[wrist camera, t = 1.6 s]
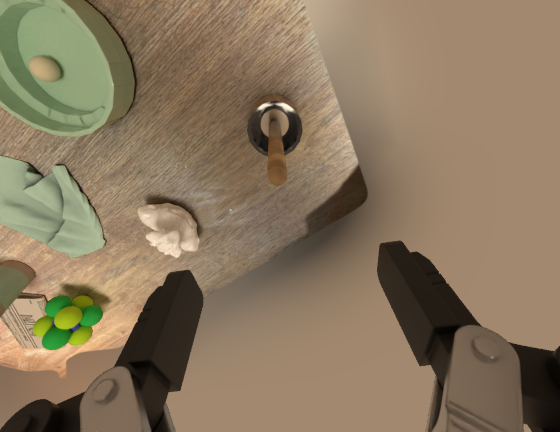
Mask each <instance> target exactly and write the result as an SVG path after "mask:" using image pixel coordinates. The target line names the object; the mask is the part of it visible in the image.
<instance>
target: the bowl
mask: <svg viewBox="0 0 560 432" xmlns="http://www.w3.org/2000/svg"><path fill="white" fill-rule="evenodd" d="M34 56H44V57H47V58H49V59H51V60H52V61H54V62H55V63H56V64H57V66H58V67H59V69H60V78H59V79H58V80H57V81H55V82H45V81H42V80H40V79H38V78H37V77H36V76H34V75H33V73H32V72H31V70H30V68H29V60H30V59H31V58H32V57H34ZM134 87H135V81H134V75H133V70H132V65H131V61H130V59H129V56H128V54H127V52H126V50H125V48H124V46H123V43H122V41H121V39H120V38H119V36H118V35H117V34H116V32H115V31H114V30H113V28H112V27H111V26H110V24H109V23H108V22H107V21H106V19H105V18H104V17H103V16H102V15H101V14H100V13H99V12H98V11H97V10H95V9H94V8H93V7H92V6H91V5H90V4H88V3H87V2H86V1H85V0H0V106H1V107H3V108H4V109H5V110H6V111H7V112H8V113H10V114H11V115H13V116H15V117H16V118H18V119H20V120H21V121H23V122H25V123H26V124H28V125H30V126H31V127H34V128H36V129H39V130H42V131H45V132H47V133H50V134H53V135H59V136H68V137H78V136H82V135H87V134H91V133H94V132H96V131H98V130H100V129H102V128H105V127H107V126H109V125H111V124H113V123H115V122H116V121H118V120H119V119H120V118H122V117H123V116H124V115H125V114H126V113H127V111H128V109H129V107H130V105H131V104H132V102H133V96H134Z"/></svg>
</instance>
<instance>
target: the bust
mask: <svg viewBox="0 0 560 432" xmlns="http://www.w3.org/2000/svg"><path fill="white" fill-rule="evenodd" d="M138 215H139V217H140V219H141V221H142V222H143V223H144V224H146V225H147V226H149V227H151V228H152V229H154V230H155V231H152V232H150V233H148V234H147V235H146V239H147V240H149V241H150V244H149V245H151V246H157V248H158V251H160V252H164V254H165V255H168V254H170V255H172V256H174V257H175V258H177V257H179V256H180V253H181V252H182V250H181V249H183V250H185V251H196V250H197V249H198V244H199V241H200V240H199V238H198V234H197V229H196V227H197V224H196V222H195V221H194V220H193V218H192V216H191V215H190V214H189V213H188V212H187V211H186V210H184V209H183V208H181V207H180V206H176V205H172V204H170V203H164V204H154V205H146V206H141V207H140V208H138Z"/></svg>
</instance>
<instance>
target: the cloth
mask: <svg viewBox="0 0 560 432" xmlns="http://www.w3.org/2000/svg"><path fill="white" fill-rule="evenodd" d="M52 171H53V172H52V173H50V174H48V175H47V176H46V177H44V178H43V177H42V176H41V175H40V174H38V173H37V172H36V171H35V170H34V168H32V167H31V166H30V165H29V164H28V163H26V162H24V161H20V160H17V159H13V158H9V157H5V156H1V155H0V224H3V225H5V226H7V227H9V228H11V229H13V230H15V231H18V232H20V233H22V234H24V235H27V236H29V237H31V238H33V239H36V240H38V241H41V242H43V243H45V244H47V246H49V247H50V248H51V249H53V250H55V251H57V252H63V253H66V254H67V256H68V257H69V258H75V257H79V256H84V255H86V254H89V253H92V252H94V251H96V250H99V249H100V248H102V247H104V246H105V244H106V241H105V240H104V239H103V232H102V226H101V224H100V222H99V218H98V216H97V215H96V214H95V212H94V208H93V207H92V206H91V204H90V203H89V202H88V199H87V197H86V195H85V194H84V193H83V192H82V191H81V190H80V189H79V187H78V185H77V183H76V181H75V180H74V179H73V178H72V177H71V176H70V175H69V174H68V172H67V170H66V167H65V165H64V166H55V165H54V166H53V168H52Z"/></svg>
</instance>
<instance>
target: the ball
mask: <svg viewBox="0 0 560 432" xmlns="http://www.w3.org/2000/svg"><path fill="white" fill-rule="evenodd" d="M29 68H30V70H31V72H32V73H33V75H34V76H36V77H37V78H38V79H40V80H42V81H45V82H55V81H57V80H58V79H59V78H60V69H59V67H58V66H57V64H56V63H55V62H54V61H52V60H51V59H49V58H47V57H44V56H34V57H32V58H31V59H30V60H29Z"/></svg>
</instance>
